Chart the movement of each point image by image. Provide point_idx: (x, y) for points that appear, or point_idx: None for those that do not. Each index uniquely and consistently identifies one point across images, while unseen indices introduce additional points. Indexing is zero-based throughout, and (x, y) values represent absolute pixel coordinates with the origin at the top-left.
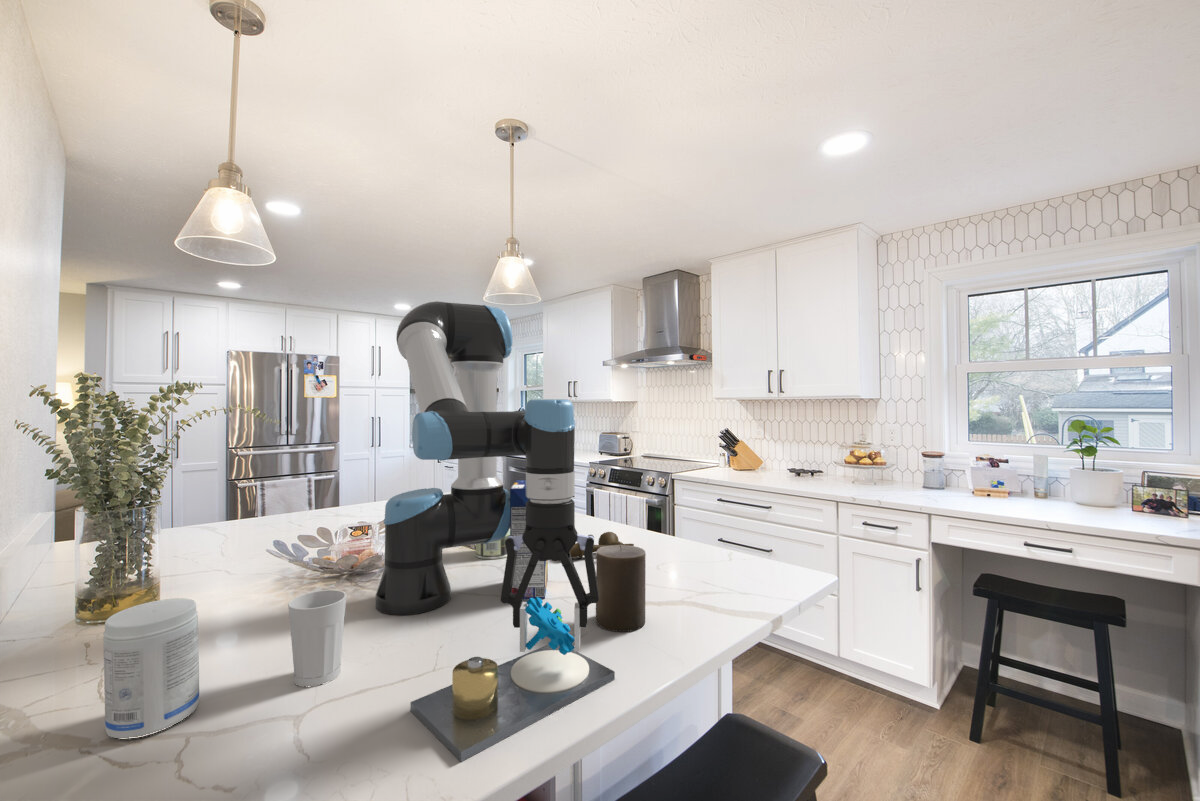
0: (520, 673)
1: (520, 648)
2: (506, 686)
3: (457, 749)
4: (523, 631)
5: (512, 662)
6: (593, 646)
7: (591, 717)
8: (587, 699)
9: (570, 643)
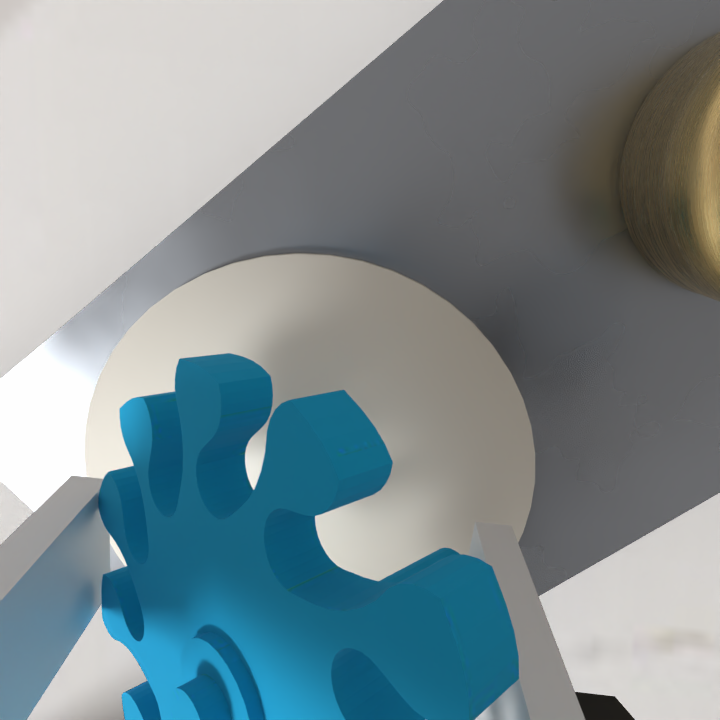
0: (479, 456)
1: (512, 540)
2: (560, 350)
3: None
4: (519, 637)
5: None
6: (100, 704)
7: (81, 66)
8: (111, 244)
9: (116, 527)
